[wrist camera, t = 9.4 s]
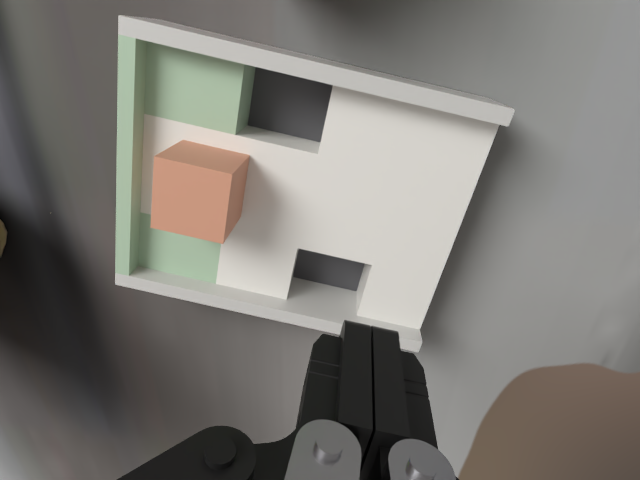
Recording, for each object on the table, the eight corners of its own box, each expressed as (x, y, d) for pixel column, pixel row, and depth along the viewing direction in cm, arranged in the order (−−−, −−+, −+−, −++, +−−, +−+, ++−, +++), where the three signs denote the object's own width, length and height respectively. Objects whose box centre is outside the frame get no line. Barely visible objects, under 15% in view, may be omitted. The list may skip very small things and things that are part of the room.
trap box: (488, 97, 30) (515, 109, 25) (410, 310, 37) (418, 352, 32) (158, 19, 29) (118, 14, 24) (147, 251, 37) (115, 284, 32)
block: (249, 155, 29) (232, 174, 24) (240, 216, 30) (223, 244, 26) (183, 139, 28) (153, 156, 24) (178, 202, 30) (150, 227, 26)
